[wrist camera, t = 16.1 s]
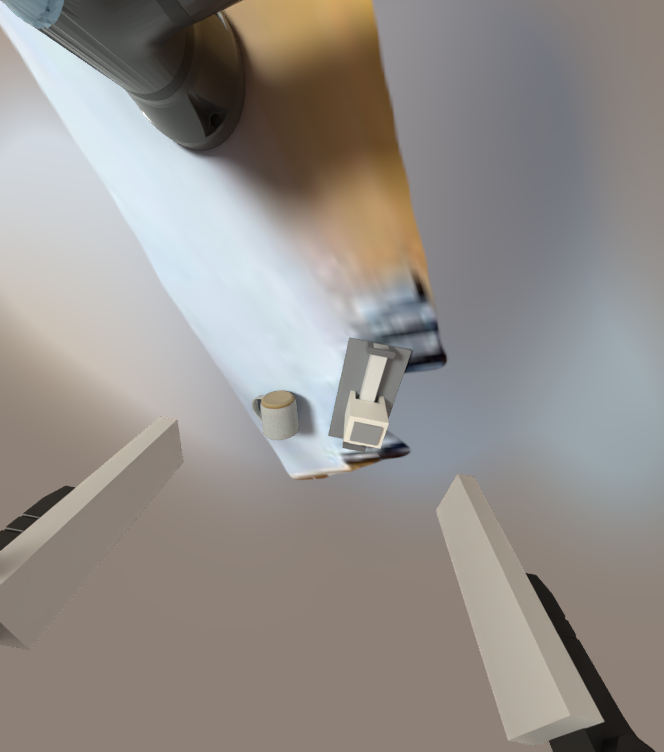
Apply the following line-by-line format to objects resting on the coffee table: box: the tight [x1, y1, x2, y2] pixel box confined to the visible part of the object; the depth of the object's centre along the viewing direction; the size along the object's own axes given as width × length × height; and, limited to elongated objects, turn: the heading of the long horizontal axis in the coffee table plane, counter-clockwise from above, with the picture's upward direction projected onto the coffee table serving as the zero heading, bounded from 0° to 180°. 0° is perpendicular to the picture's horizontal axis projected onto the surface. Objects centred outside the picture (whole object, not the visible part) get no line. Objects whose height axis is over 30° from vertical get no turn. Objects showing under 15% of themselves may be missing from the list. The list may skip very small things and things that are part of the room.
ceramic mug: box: [252, 391, 299, 440], centre depth 52 cm, size 11×8×8 cm
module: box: [343, 390, 389, 448], centre depth 48 cm, size 6×7×10 cm
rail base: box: [328, 338, 412, 452], centre depth 51 cm, size 24×12×4 cm, turn 170°
